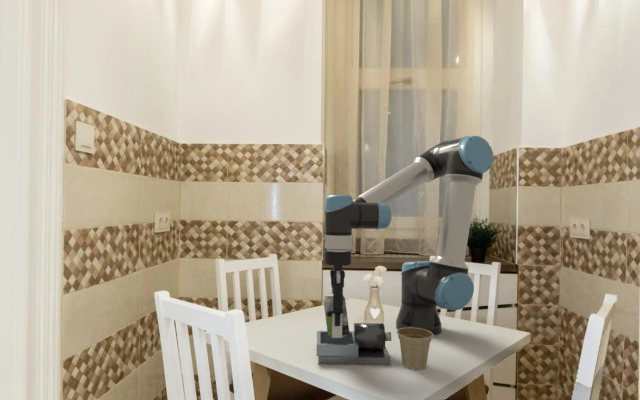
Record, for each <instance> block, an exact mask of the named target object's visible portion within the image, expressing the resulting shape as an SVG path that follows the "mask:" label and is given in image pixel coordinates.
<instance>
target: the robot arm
mask: <svg viewBox="0 0 640 400" xmlns="http://www.w3.org/2000/svg"><path fill="white" fill-rule="evenodd" d="M494 159H495V158H494V151H493V149H492V147H491V146H490V143H489V142H488V140H487V139H485V138H483V137H481V136H479V135H472V136H470V135H469V136H466V135H465V136H463V137H461V138H460V137H459V138H456V139H451V140H446V141H445V140H444V141H442V142H440V143H438V144H436V145H434V146H433V147H430V148H429V149H428V150H426V151H424V152H423V153H421V154H420V155H418V156H417V157H415V158H414V159H413V162H412V163H411V164H409V165H408V166H406V167H405V168H402V169H400V170H399V171H398V172H396V173H394V174H392V175H391V176H389V177H388V178H386V179H384V180H383V181H381V182H379V183H378V184H376V185H374V186H372V187H370V188H369V189H368V190H366V191H364V192H363V193H361V194H360V195H358V196H356V197H355V198H353V196H352V195H350V194H330V195H329V194H328V195H327V196H326V198H325V202H324V203H325V206H324V219H325V220H324V237H322V242H324V249H325V251H324V255H323V257H324V258H323V262H324V265H327V266H332V267H331V268H332V269H331V270H330V271H329V274H330V276H329V277H330V287H331V293H333V311H330V314H332V338H342V313H343V296H344V287H345V277H346V272H345V270H343V266H350V265H351V264H352V252H351V250H352V247H353V246H352V245H353V243H352V242H353V240H352V239H353V237H352V236H353V235H352V231H353V230H354V229H355V230H358V229H363V230H364V229H365V230H367V229H368V230H370V229H371V230H374V229H375V230H381V229H387V228H389V226H390V224H391V223H392V209H391V208H390V206H389V205H390V204H392V203H393V202H396V201H397V200H399V199H400V198H402V197H404V196H405V195H407V194H408V193H409V192H411V191H413V190H414V189H416V188H417V187H419V186H420V185H423V183H425V182H426V183H431V182H433V181H434V180H436V179H439V178H441V177H443V178H444V179H445V181H446V183H447V185H446V190H445V197H444V198H445V199H444V205H443V210H442V217H441V222H440V223H441V224H440V229H439V235H438V241H437V242H438V243H437V247H436V254H435V257H433V258H432V259H430V260H429V261H427V260H426V261H425V260H423V261H421V260H420V261H406V262H404V263H402V267H401V273H400V274H401V304H400V305H401V306H400V309H399V312H398V314H397V318H396V321H395V328H396V329H397V330H398V329H401V328H407V327H408V328H409V327H411V328H412V327H413V328H421V329H425V330H428V331H430V332H432V333H433V336H435V335H438V334H440V333H442V327H443V326H442V322H441V318H440V314H439V312H438V308H440V309H444V310H448V311H459V310H461V309H463V308H464V307H465V306H468V304H470V302H471V300H472V299H473V295H474V292H475V285H474V282H473V279H472V278H471V277H470V276H469V266H468V265H467V263H466V262H465V259H466V252H467V247H468V240H469V233H470V228H471V227H470V226H471V220H472V214H473V210H474V209H473V207H474V201H475V193H476V188H477V186H478V185H480V183H482V182H483V176H484V174H485V173H486V172H488V171H489V170H490V169H491V168H492V166H493V164H494ZM437 306H438V308H437Z"/></svg>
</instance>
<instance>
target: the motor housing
mask: <svg viewBox="0 0 640 400" xmlns="http://www.w3.org/2000/svg"><path fill="white" fill-rule="evenodd" d="M385 329H386V328H385V324H384V323H377V322H375V323H373V322H361V323H360V322H354V323H353V330H349V333H348V334H347V335H346V336H345V337H342V338H332V337H331V336H329V335H328V332H327V330H317V331H316V357H318V358H317V359H318V360H317V361H318V364H317V365H321V366H322V365H324V366H325V365H328V366H332V365H333V366H336V365H337V366H340V365H341V366H391V365H392V359H391V355H390V353H389V351H388V349H387V346H386V342H392V333H391V332H390V331H386V330H385Z"/></svg>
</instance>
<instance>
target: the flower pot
mask: <svg viewBox="0 0 640 400" xmlns="http://www.w3.org/2000/svg"><path fill="white" fill-rule="evenodd" d="M396 333H397V335H398V336H397V337H398V339H399V347H400V356H401V364H402V365H403V367H405V368H407V369H413V370H417V371H418V370H419V371H420V370H424V369H425V368H426V367H427V365H428V363H427V362H428V357H429V351H430V346H431V344H430V343H431V342H432V338H433V337H434V335H433V333H432V332H430V331H428V330H425V329H421V328H413V327H412V328H411V327H409V328H408V327H407V328H401V329H397V330H396Z"/></svg>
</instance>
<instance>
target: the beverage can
mask: <svg viewBox="0 0 640 400" xmlns="http://www.w3.org/2000/svg"><path fill="white" fill-rule="evenodd" d="M323 307H324V315H325V321H326V323H325V324H326V331H327V332H328V335H329V336H331V337H332V314H330V311H333V293H332V292H331V293H327V294H324V299H323ZM349 326H350V325H349V318H348V311H347V303H346V298H345V296H344V295H343V313H342V337H345V336H346V335H347V334H348V333H349V331H350V327H349Z"/></svg>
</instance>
